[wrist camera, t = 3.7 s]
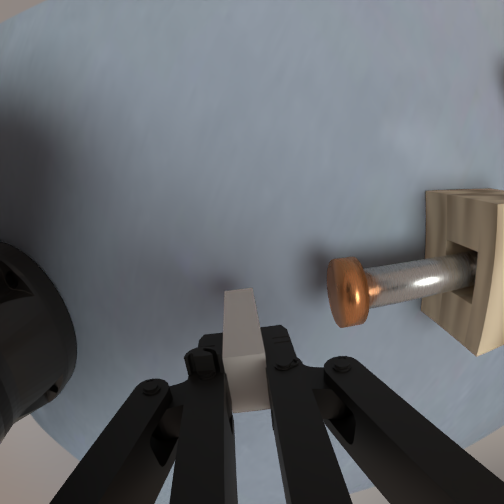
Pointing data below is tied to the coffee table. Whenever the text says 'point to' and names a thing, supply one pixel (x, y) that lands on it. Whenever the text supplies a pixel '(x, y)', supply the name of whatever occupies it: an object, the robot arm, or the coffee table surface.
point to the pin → (393, 283)
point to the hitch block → (488, 264)
